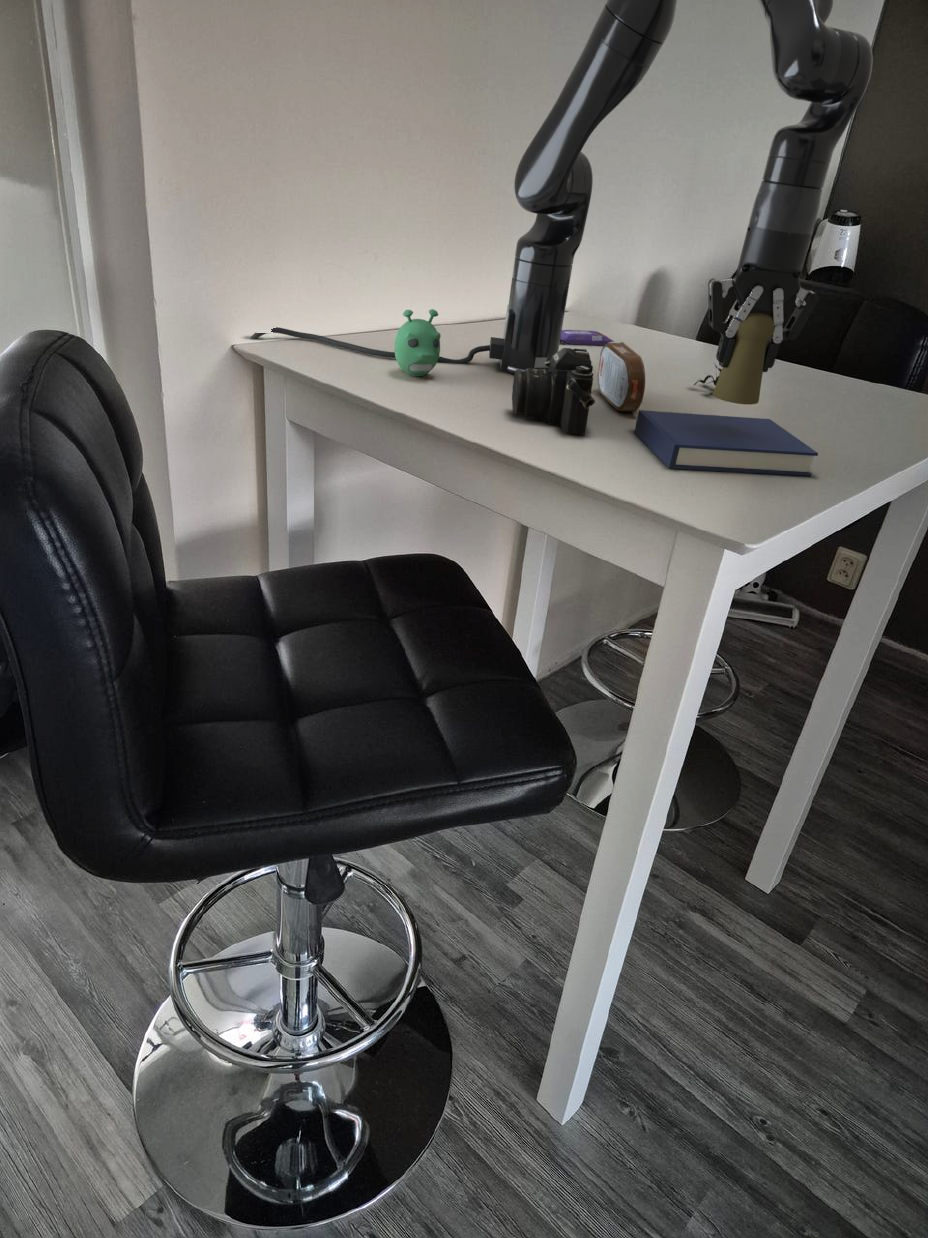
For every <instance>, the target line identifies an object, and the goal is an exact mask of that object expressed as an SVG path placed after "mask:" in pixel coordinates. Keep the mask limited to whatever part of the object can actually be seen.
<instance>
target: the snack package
mask: <svg viewBox="0 0 928 1238" xmlns="http://www.w3.org/2000/svg"><path fill="white" fill-rule="evenodd" d="M560 341H564V342H565V343H566V344H568V345H569V344H570V345H584V346H604V345H605V344H607V343H616V342H615V340H613V339H611V338H609V337H608V336H607V335H605V334H603V333H601V332H600V331H596V330H582V329H581V330H580V329H562V332H561V338H560Z"/></svg>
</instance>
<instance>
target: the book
mask: <svg viewBox="0 0 928 1238" xmlns="http://www.w3.org/2000/svg"><path fill="white" fill-rule="evenodd" d="M633 433H634V434H635V435H636V436H637V437H638V438H639V440H641V441H642V442H643V444H645V445H646V446H647V447H648V448H649V449H650V451H652V453H653V454H654V455H655V456H656V457H657V458H658V459H659V460H660V461H661V462H662V463H663V464H664V465H665V466H666V467H667V468H668V469H673V470H675V469H676V470H691V471H692V470H693V471H710V472H727V473H744V474H745V473H748V474H763V475H764V474H765V475H782V476H799V477H800V476H802V477H803V476H804V477H811V476H812V474H813V473H811V472H810V469H811V466H812V462H813V460H814V457H818V455H819V453H818V451H816V450H815V449H813V448H812V447H810V446H809V445H807V444H806V443H804V442H803V441H801V440H800V439H799V438H798V437H796V436H795V435H793V434H792V433H791V432H789V431H788V430H787V429H785V428H784V427H782V426H781V425H779V424H778V423H776V422H775V421H774V420H772V419H771V418H762V417H761V418H758V417H745V416H744V417H743V416H732V415H716V414H700V413H686V412H672V411H658V410H657V411H656V410H645V409H644V410H643V409H638V412H637V418H636V422H635V426H634V430H633Z"/></svg>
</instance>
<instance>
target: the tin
mask: <svg viewBox="0 0 928 1238" xmlns="http://www.w3.org/2000/svg"><path fill="white" fill-rule="evenodd" d="M599 355H600V356H599V364H598V372H597V385H598V389H599V392H600V394H601V396H602V397H603V398H604V399H605V400H606V401H607V402H608V403H609V404H610V405H611V406H612V407H613V408H614V409H615V410H616V411H618V412H631V413H635V412H637V411H639V410H640V407H641V405H642V402H643V399H644V395H645V390H646V370H645V369H646V367H645V365H644V361H643V359H642V356H641V355H640V354H638V353H637V352H636V351H634V350H633V349H632V348H631V347H629V345H627V344H626V343H625V342H623V341H622V342H621V341H620V342H609V343H607V344H605V345H603V346H602V348H601V351H600V354H599Z"/></svg>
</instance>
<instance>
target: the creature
mask: <svg viewBox="0 0 928 1238" xmlns="http://www.w3.org/2000/svg"><path fill="white" fill-rule="evenodd" d="M715 363H716V362H713V364H714V366H715V369H717V370H718V371H719V373H718V376H717V372H715V373H716V375H715V378H714V376H713V375H711V374H709V375H706V376H705V378H704V379H698V380H697V381H695V382H694V384H693V387H695V386H696V385H697V384H698V383H701V384H704V385H703V388H708V389H709V390H711V391H714V388H712V387H711V388H710V387H709V386H706V385H709V384H710V383H713V385H714V387H715V386H716V383H717V381H718V378H719V376H720V373H721V370H722V368H720V367H718V366H717V365H716V364H715ZM710 378H711V379H712V380H711V381H709V382H707V381H708V380H709V379H710ZM706 382H707V383H706ZM704 396H705V397H708V396H713V392H711V393H708V394H705V395H704Z"/></svg>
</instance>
